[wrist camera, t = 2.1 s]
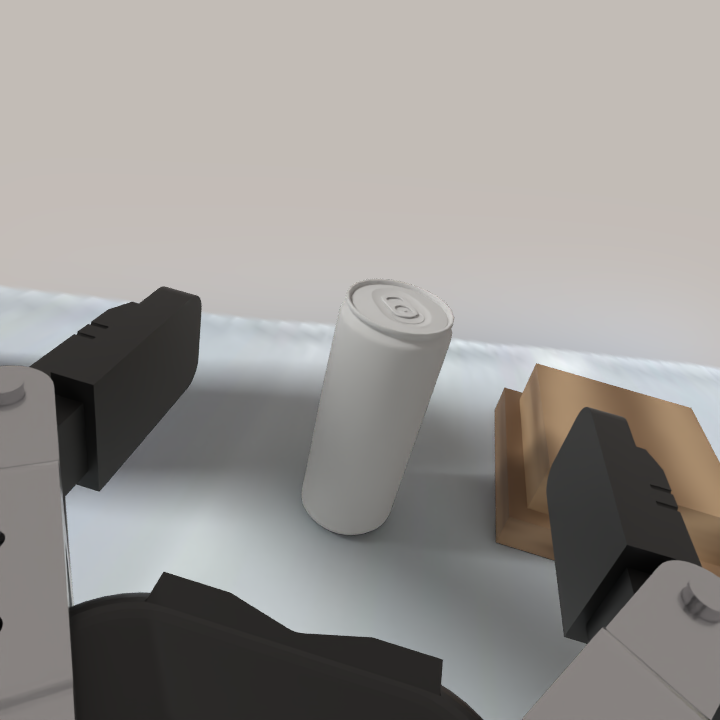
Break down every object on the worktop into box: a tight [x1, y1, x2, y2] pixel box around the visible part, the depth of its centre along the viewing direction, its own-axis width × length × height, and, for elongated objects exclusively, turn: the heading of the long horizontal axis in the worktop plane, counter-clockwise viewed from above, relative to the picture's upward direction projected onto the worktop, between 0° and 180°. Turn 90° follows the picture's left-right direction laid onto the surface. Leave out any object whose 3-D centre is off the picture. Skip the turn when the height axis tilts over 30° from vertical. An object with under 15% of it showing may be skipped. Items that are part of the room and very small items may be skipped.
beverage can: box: [301, 279, 454, 535], centre depth 26 cm, size 5×5×12 cm
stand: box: [495, 363, 720, 578], centre depth 33 cm, size 12×12×5 cm
